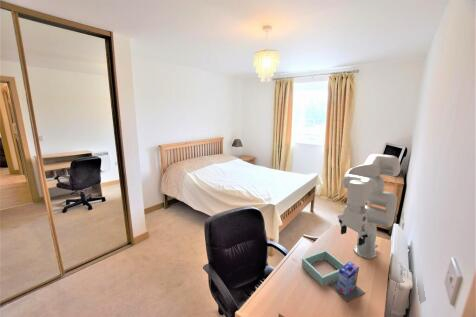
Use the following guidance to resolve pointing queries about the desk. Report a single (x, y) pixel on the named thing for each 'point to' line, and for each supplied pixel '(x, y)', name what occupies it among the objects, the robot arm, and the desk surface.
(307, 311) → the desk surface
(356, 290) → the mat
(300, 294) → the desk surface
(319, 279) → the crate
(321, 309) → the desk surface
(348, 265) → the ink cartridge box
